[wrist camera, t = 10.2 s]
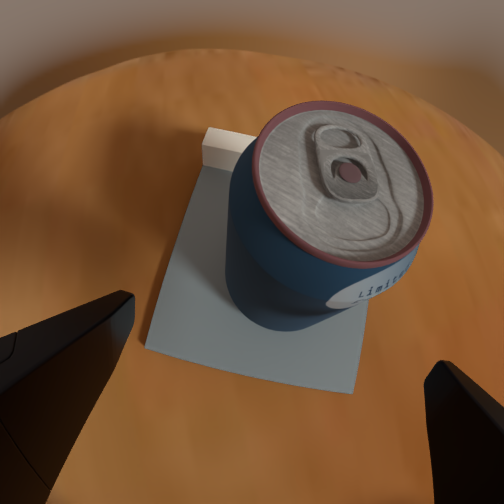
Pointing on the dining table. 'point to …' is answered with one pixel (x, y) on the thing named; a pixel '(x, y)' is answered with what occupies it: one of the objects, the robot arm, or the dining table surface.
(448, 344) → the dining table surface
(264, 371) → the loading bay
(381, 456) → the dining table surface
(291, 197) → the soda can
